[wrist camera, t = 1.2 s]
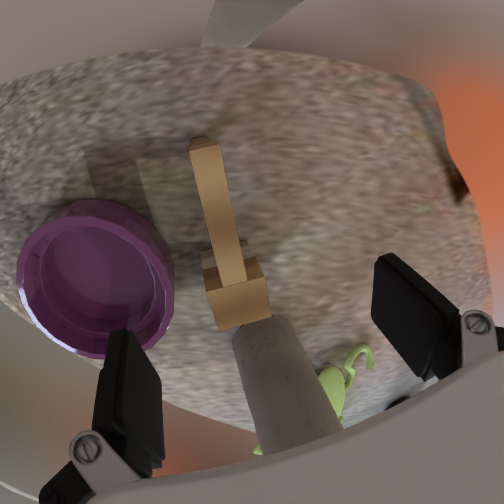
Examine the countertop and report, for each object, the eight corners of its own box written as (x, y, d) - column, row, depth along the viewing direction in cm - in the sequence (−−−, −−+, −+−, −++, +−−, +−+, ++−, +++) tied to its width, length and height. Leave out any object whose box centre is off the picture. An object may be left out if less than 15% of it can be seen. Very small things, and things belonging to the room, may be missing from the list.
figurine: (245, 441, 50) (251, 465, 45) (265, 352, 38) (277, 384, 33) (329, 426, 54) (339, 446, 49) (378, 336, 42) (396, 360, 38)
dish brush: (171, 144, 24) (167, 156, 18) (225, 131, 25) (239, 139, 19) (210, 287, 31) (219, 331, 25) (253, 275, 32) (271, 317, 26)
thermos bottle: (261, 368, 39) (331, 557, 15) (219, 345, 36) (280, 574, 11) (305, 333, 38) (406, 525, 14) (266, 304, 34) (375, 546, 10)
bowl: (14, 224, 23) (-9, 246, 19) (147, 176, 25) (139, 191, 20) (74, 338, 31) (65, 368, 26) (191, 312, 32) (195, 343, 28)
